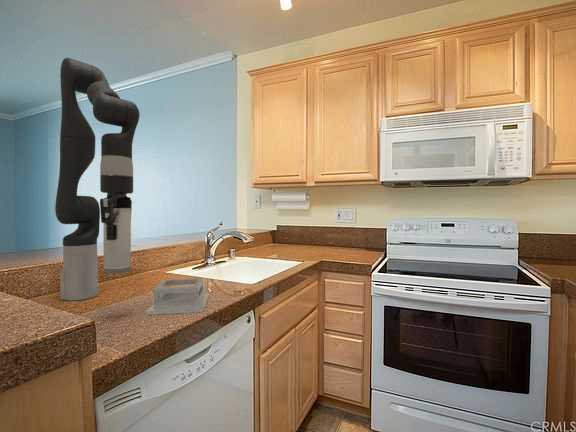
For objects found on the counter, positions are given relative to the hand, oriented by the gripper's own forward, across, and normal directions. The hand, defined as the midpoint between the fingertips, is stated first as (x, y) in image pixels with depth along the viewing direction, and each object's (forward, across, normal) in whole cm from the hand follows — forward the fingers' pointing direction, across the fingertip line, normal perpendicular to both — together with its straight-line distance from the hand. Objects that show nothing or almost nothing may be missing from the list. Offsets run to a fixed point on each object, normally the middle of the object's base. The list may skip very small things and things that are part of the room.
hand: (117, 238), depth 78 cm
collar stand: (+21, -8, +14) cm, 27 cm away
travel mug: (+9, 0, 0) cm, 9 cm away
